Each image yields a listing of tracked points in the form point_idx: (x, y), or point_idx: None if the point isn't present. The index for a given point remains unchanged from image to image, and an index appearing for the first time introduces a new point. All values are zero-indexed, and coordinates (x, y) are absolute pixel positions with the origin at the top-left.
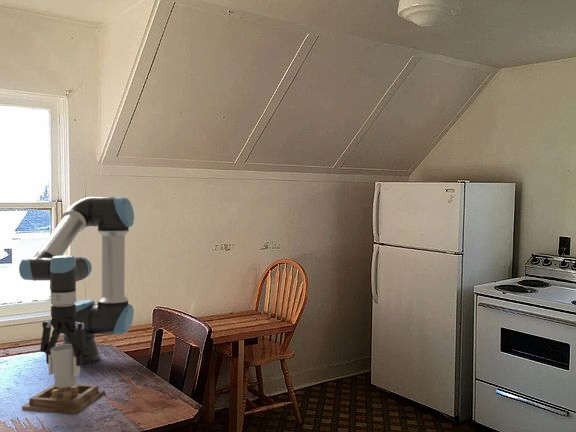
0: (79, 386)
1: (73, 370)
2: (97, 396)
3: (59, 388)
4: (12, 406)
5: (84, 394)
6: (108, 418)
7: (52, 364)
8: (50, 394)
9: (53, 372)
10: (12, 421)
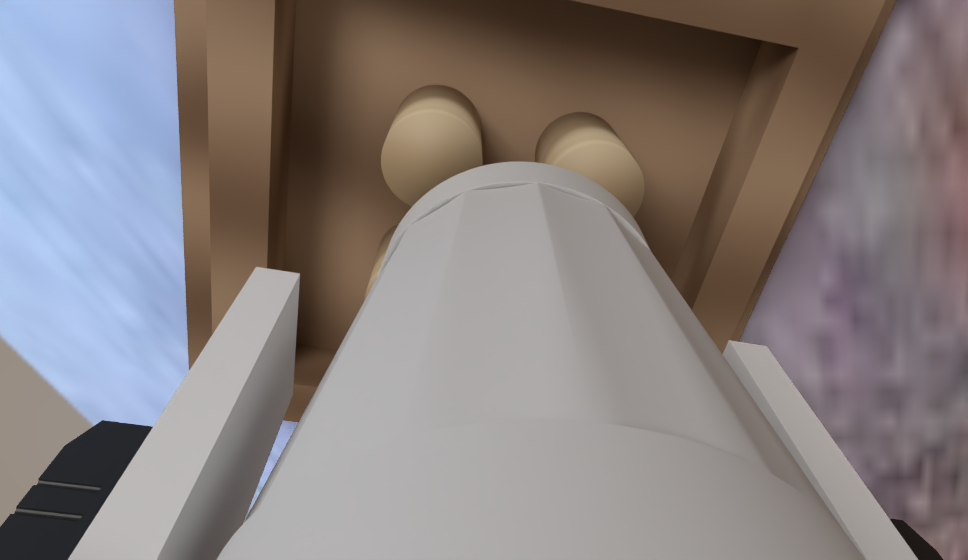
0: (615, 7)
1: None
2: (832, 118)
3: (408, 199)
4: (61, 322)
5: (741, 302)
6: (923, 496)
7: (243, 482)
8: (289, 130)
9: (290, 340)
10: None
